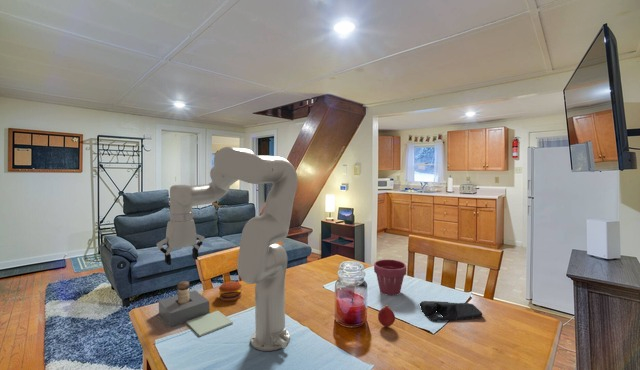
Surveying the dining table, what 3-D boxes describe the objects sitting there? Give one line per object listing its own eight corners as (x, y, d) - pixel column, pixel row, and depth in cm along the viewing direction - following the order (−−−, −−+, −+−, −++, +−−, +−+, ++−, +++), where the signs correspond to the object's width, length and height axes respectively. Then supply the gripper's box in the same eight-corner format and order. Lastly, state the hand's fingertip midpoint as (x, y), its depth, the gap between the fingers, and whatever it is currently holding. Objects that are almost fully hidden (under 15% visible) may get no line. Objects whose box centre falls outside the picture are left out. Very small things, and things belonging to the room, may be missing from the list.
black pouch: (488, 323, 108) (489, 311, 108) (428, 323, 108) (428, 310, 108) (468, 304, 123) (468, 293, 123) (415, 303, 124) (415, 292, 123)
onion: (382, 332, 101) (382, 310, 101) (375, 324, 107) (375, 302, 106) (397, 330, 103) (398, 307, 102) (389, 321, 108) (389, 300, 108)
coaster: (232, 323, 107) (232, 321, 107) (199, 336, 99) (199, 334, 99) (218, 311, 116) (218, 310, 116) (186, 323, 107) (186, 321, 107)
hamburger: (219, 294, 132) (219, 279, 132) (241, 291, 135) (241, 277, 134) (218, 303, 123) (218, 287, 123) (242, 300, 126) (241, 285, 125)
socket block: (209, 313, 114) (209, 301, 114) (170, 327, 105) (170, 313, 104) (195, 301, 124) (195, 290, 124) (158, 313, 115) (158, 300, 114)
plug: (191, 313, 114) (190, 283, 114) (180, 317, 112) (179, 286, 111) (187, 309, 117) (186, 280, 117) (176, 313, 114) (175, 283, 114)
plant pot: (367, 290, 135) (367, 263, 135) (385, 282, 145) (386, 257, 144) (394, 301, 125) (394, 271, 124) (411, 292, 134) (412, 264, 133)
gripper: (200, 213, 121) (200, 254, 122) (153, 218, 109) (154, 264, 110) (207, 216, 116) (208, 259, 117) (159, 221, 104) (160, 269, 105)
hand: (182, 261), depth 113 cm, fingers open, 9 cm apart
